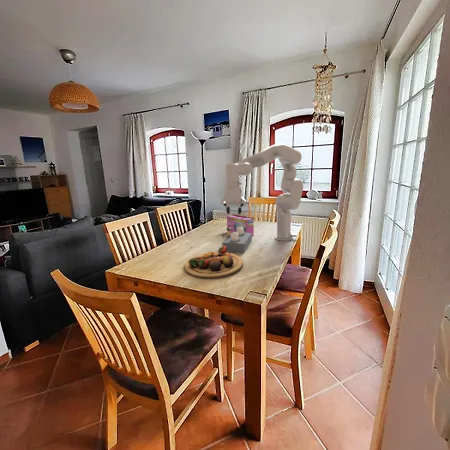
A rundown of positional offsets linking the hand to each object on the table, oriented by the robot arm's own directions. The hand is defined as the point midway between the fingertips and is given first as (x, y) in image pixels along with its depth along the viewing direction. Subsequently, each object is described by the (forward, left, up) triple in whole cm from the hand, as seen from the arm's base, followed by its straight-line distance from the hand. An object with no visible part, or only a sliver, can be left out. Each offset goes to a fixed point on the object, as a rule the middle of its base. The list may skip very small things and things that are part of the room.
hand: (234, 213), depth 153 cm
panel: (0, -7, -24) cm, 25 cm away
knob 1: (0, 0, -19) cm, 19 cm away
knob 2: (0, -14, -19) cm, 24 cm away
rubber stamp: (+6, -7, -18) cm, 20 cm away
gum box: (+6, -37, -24) cm, 44 cm away
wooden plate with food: (+5, +27, -24) cm, 37 cm away
